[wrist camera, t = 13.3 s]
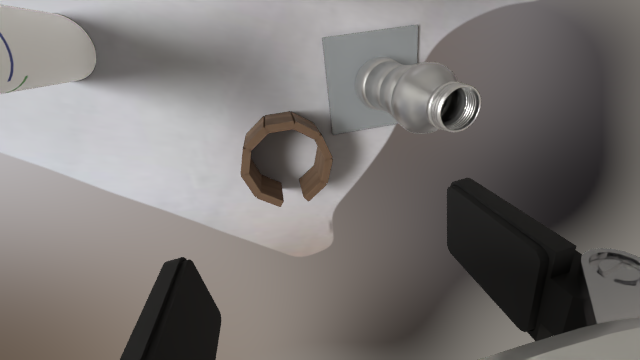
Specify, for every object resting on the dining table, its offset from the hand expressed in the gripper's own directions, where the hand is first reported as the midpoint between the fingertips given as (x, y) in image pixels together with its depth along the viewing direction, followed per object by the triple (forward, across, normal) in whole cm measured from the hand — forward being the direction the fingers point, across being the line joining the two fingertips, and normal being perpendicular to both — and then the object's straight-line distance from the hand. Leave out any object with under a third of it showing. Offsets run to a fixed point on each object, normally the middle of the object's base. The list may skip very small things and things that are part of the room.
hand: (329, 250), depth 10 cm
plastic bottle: (+32, -13, +1) cm, 35 cm away
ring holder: (+33, +2, +8) cm, 33 cm away
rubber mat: (+33, -13, +1) cm, 35 cm away
